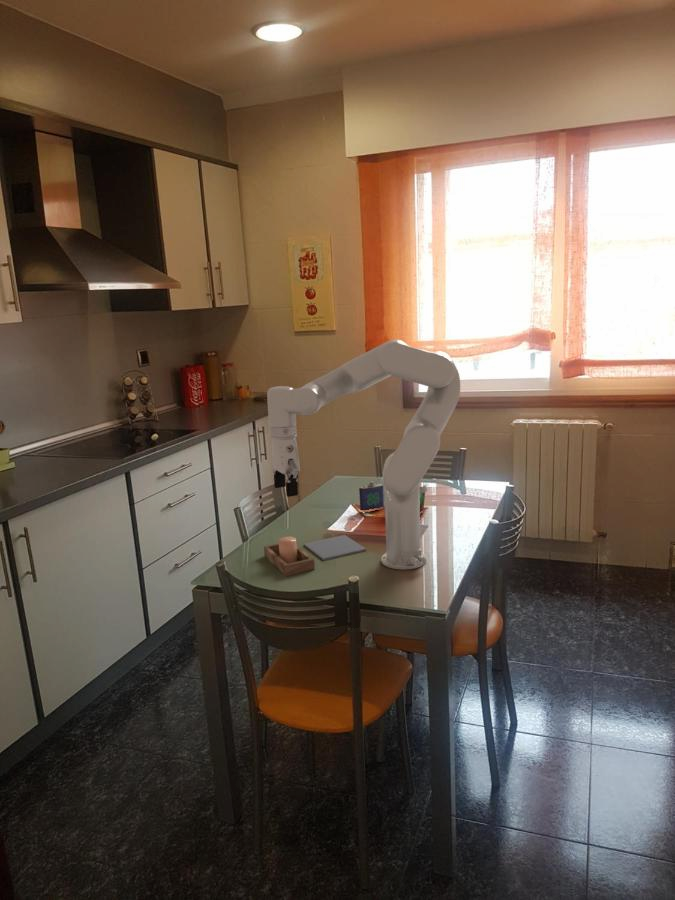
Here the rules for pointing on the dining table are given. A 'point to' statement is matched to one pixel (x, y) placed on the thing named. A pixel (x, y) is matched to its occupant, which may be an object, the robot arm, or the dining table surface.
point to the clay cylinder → (288, 549)
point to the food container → (422, 496)
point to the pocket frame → (291, 568)
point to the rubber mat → (334, 547)
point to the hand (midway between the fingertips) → (286, 491)
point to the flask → (371, 496)
